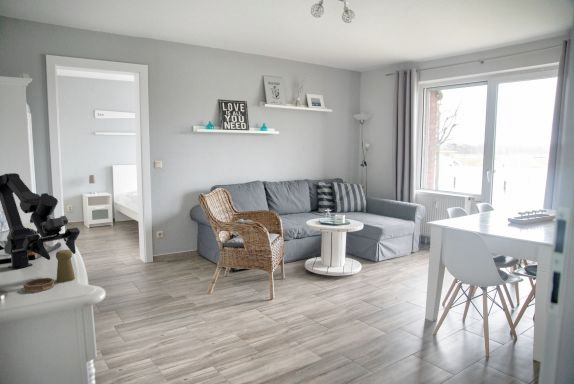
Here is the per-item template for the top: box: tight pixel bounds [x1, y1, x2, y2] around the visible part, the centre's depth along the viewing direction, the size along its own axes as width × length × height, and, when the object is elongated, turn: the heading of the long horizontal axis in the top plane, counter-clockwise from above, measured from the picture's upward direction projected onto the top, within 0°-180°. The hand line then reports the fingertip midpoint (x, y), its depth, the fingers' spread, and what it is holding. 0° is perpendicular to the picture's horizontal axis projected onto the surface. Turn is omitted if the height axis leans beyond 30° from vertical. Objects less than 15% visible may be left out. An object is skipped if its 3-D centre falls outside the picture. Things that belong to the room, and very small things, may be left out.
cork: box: [55, 249, 76, 283], centre depth 147 cm, size 6×6×11 cm
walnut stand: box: [22, 277, 55, 293], centre depth 139 cm, size 9×9×2 cm
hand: (62, 256), depth 148 cm, fingers open, 9 cm apart
